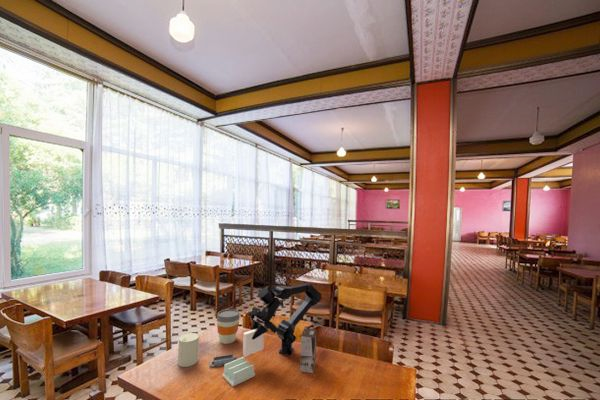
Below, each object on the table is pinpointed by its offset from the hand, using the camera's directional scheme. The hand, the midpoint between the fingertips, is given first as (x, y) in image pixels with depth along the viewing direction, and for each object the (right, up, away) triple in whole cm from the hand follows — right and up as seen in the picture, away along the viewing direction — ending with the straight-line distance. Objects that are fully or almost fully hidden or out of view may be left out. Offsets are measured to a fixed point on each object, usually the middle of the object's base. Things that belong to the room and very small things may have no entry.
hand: (251, 338), depth 124 cm
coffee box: (+27, -14, +1) cm, 31 cm away
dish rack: (-4, -13, -8) cm, 16 cm away
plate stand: (-14, -13, +2) cm, 19 cm away
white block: (+1, -7, +1) cm, 7 cm away
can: (-31, -13, +2) cm, 34 cm away
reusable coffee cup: (-18, -14, +25) cm, 34 cm away
